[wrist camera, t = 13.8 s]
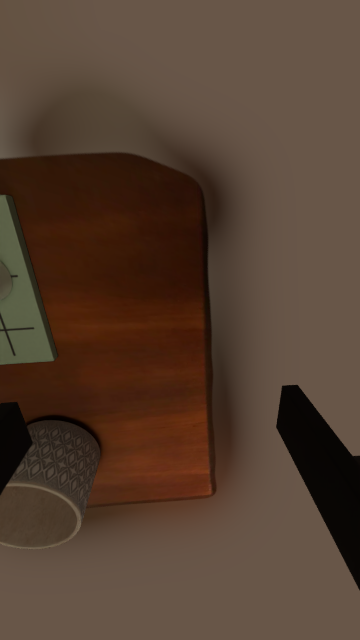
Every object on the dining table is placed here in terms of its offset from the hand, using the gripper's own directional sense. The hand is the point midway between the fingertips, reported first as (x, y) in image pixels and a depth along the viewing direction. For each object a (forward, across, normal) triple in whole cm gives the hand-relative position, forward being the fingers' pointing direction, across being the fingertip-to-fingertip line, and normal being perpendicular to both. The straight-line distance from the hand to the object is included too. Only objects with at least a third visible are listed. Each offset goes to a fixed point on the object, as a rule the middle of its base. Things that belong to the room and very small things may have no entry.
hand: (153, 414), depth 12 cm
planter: (+26, -23, -32) cm, 47 cm away
